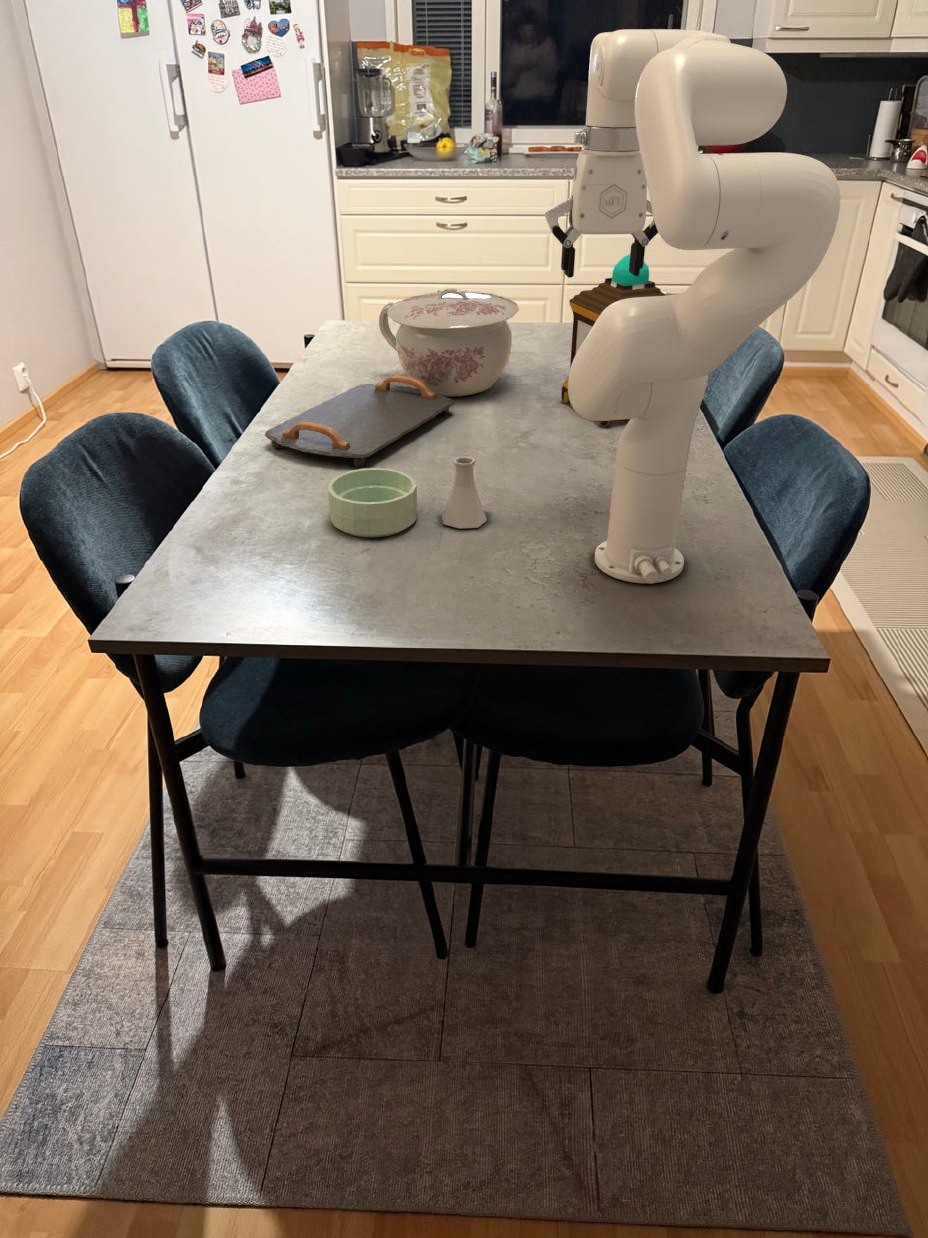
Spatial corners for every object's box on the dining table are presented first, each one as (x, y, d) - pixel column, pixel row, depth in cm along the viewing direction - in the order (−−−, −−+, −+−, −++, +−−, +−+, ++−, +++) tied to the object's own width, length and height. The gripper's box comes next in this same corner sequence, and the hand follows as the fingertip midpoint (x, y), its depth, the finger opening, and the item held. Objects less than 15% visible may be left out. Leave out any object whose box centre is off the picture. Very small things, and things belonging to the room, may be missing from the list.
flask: (482, 532, 138) (483, 471, 132) (436, 527, 139) (435, 467, 134) (490, 512, 144) (492, 452, 138) (446, 508, 145) (446, 449, 140)
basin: (420, 537, 136) (419, 501, 133) (331, 542, 135) (328, 506, 131) (413, 500, 147) (412, 465, 144) (330, 504, 146) (327, 469, 143)
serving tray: (369, 392, 193) (367, 363, 190) (464, 410, 184) (464, 380, 181) (252, 452, 164) (248, 419, 161) (359, 477, 155) (357, 442, 152)
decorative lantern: (551, 400, 190) (560, 248, 174) (632, 388, 196) (648, 241, 180) (600, 432, 174) (614, 268, 158) (686, 418, 181) (708, 259, 165)
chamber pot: (541, 394, 191) (543, 293, 179) (421, 418, 181) (415, 313, 170) (483, 358, 212) (482, 266, 201) (373, 377, 203) (365, 282, 191)
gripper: (554, 144, 117) (547, 281, 127) (683, 143, 119) (667, 279, 128) (543, 139, 124) (537, 270, 133) (666, 138, 125) (651, 268, 135)
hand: (601, 274), depth 131 cm, fingers open, 9 cm apart
